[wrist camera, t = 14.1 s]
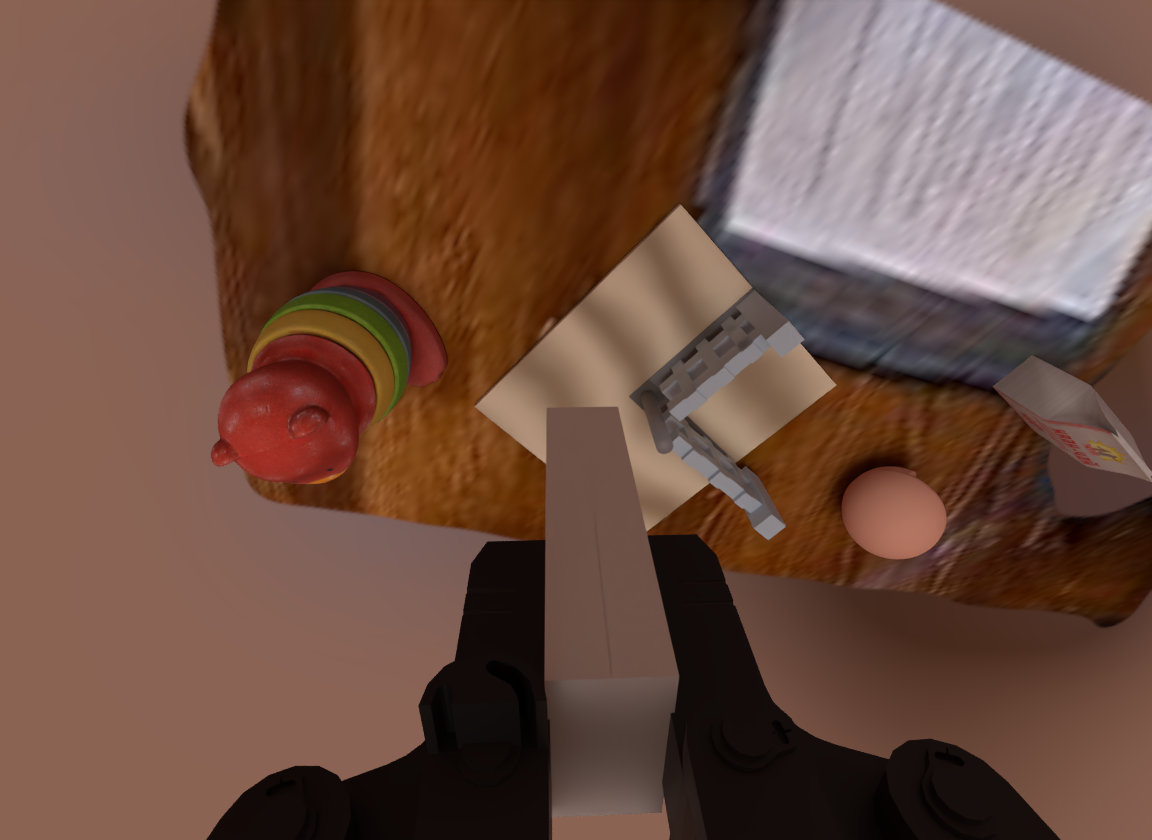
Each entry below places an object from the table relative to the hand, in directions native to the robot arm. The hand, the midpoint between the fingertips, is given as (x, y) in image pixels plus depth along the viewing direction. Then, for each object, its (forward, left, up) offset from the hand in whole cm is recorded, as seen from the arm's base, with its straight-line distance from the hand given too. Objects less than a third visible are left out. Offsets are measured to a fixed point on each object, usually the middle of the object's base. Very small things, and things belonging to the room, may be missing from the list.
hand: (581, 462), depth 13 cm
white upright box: (-18, +39, -33) cm, 54 cm away
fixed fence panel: (0, +15, -32) cm, 35 cm away
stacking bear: (+17, -4, -33) cm, 37 cm away
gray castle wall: (+5, +22, -31) cm, 39 cm away
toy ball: (-3, +37, -33) cm, 49 cm away
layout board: (+5, +15, -32) cm, 36 cm away
